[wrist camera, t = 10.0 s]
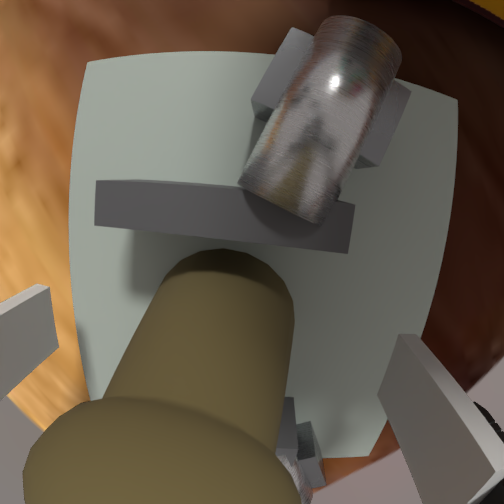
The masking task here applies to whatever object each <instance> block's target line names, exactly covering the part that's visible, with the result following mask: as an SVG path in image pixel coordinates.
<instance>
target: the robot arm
mask: <svg viewBox="0 0 504 504" xmlns="http://www.w3.org/2000/svg"><path fill="white" fill-rule="evenodd" d="M57 348H59V345H58V340H57V334H56V329H55V323H54V316H53V310H52V302H51V294H50V287H48V286H44V285H40V284H35V285H33V286H31V287H29V288H27V289H26V290H24V291H22V292H20V293H18V294H16V295H14V296H12V297H11V298H9V299H7V300H5V301H3V302H1V303H0V401H1V400H2V399H3V398H4V397H5V396H6V395H7V394H8V393H9V392H10V391H11V390H12V389H13V388H15V387H16V386H17V385H18V384H19V383H20V382H21V381H22V380H23V379H24V378H25V377H26V376H27V375H28V374H30V373H31V372H32V371H33V370H34V369H35V368H36V367H37V366H38V365H39V364H41V363H42V362H43V361H44V360H45V359H46V358H47V357H48V356H50V355H51V354H52V353H53V352H54V351H55V350H56V349H57ZM377 396H378V398H379V400H380V402H381V404H382V407H383V409H384V411H385V413H386V416H387V418H388V420H389V422H390V425H391V427H392V429H393V432H394V434H395V436H396V439H397V441H398V443H399V446H400V448H401V450H402V453H403V455H404V457H405V460H406V462H407V465H408V467H409V470H410V472H411V475H412V477H413V480H414V482H415V485H416V487H417V490H418V493H419V495H420V498H421V500H422V503H423V504H504V432H503V431H502V432H501V428H500V427H499V425H498V424H497V423H495V420H494V419H493V418H492V416H491V415H490V414H489V412H488V411H487V410H486V409H484V408H483V407H482V406H480V405H479V404H478V403H476V402H472V401H471V399H470V398H469V397H468V395H467V394H466V393H465V392H464V390H463V389H462V388H461V387H460V385H459V384H458V383H457V382H456V380H455V379H454V378H453V377H452V376H451V374H450V373H449V372H448V371H447V370H446V368H445V367H444V366H443V365H442V364H441V362H440V361H439V360H438V359H437V358H436V356H435V355H434V354H433V353H432V352H431V351H430V349H429V348H428V347H427V346H426V345H425V344H424V342H423V341H422V340H421V339H420V338H419V337H418V336H417V334H398V337H397V340H396V343H395V347H394V350H393V353H392V355H391V358H390V361H389V364H388V367H387V370H386V372H385V375H384V378H383V380H382V383H381V386H380V388H379V391H378V393H377Z"/></svg>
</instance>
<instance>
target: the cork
mask: <svg viewBox="0 0 504 504" xmlns="http://www.w3.org/2000/svg"><path fill="white" fill-rule="evenodd" d="M294 325H295V317H294V305H293V300H292V297H291V295H290V293H289V291H288V289H287V286H286V284H285V282H284V281H283V280H282V278H281V277H280V276H279V275H278V274H277V273H276V272H275V271H274V270H273V269H272V268H271V267H270V266H269V265H268V264H267V263H265V262H263V261H261V260H259V259H257V258H256V257H254V256H252V255H250V254H248V253H245V252H240V251H235V250H230V249H225V248H221V249H212V250H204V251H199V252H197V253H195V254H193V255H191V256H188V257H186V258H184V259H182V260H180V261H179V262H178V263H177V264H176V265H175V266H174V267H173V268H172V269H171V270H170V271H169V272H168V273H167V274H166V275H165V277H164V279H163V281H162V283H161V284H160V286H159V288H158V290H157V292H156V293H155V295H154V297H153V299H152V301H151V303H150V304H149V306H148V308H147V310H146V312H145V314H144V316H143V317H142V319H141V321H140V323H139V325H138V327H137V329H136V331H135V333H134V335H133V337H132V338H131V340H130V342H129V344H128V346H127V348H126V350H125V352H124V354H123V356H122V358H121V360H120V362H119V364H118V366H117V368H116V370H115V372H114V374H113V376H112V379H111V381H110V383H109V385H108V387H107V389H106V391H105V393H104V395H103V398H102V399H97V400H93V401H88V402H83V403H80V404H79V405H77V406H75V407H74V408H72V409H71V410H69V411H67V412H66V413H64V414H63V415H61V416H59V417H58V418H57V419H56V420H55V421H54V422H53V423H52V424H51V425H50V426H49V427H48V428H47V429H46V430H45V432H44V433H43V434H42V435H41V437H40V438H39V439H38V440H37V441H36V442H35V444H34V445H33V446H32V448H31V449H30V452H29V455H28V458H27V461H26V464H25V467H24V470H23V488H24V500H25V503H26V504H302V503H301V497H300V494H299V492H298V490H297V487H296V485H295V483H294V480H293V478H292V475H291V474H290V473H289V471H288V470H287V469H286V467H285V466H284V465H283V464H282V462H281V461H280V460H279V458H278V457H277V456H276V454H275V452H276V447H277V441H278V435H279V429H280V423H281V417H282V411H283V405H284V398H285V392H286V385H287V378H288V371H289V364H290V356H291V349H292V341H293V333H294Z"/></svg>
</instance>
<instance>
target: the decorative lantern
mask: <svg viewBox="0 0 504 504" xmlns="http://www.w3.org/2000/svg"><path fill="white" fill-rule="evenodd" d="M451 1H453V2H456V3H458V4H460V5H462V6H464V7H466V8H468V9H470V10H472V11H474V12H475V13H477V14H479V15H481V16H483V17H485V18H486V19H488V20H490V21H492V22H493V23H495V24H497V25H498V26H500V27H502V28H503V29H504V0H451Z"/></svg>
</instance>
